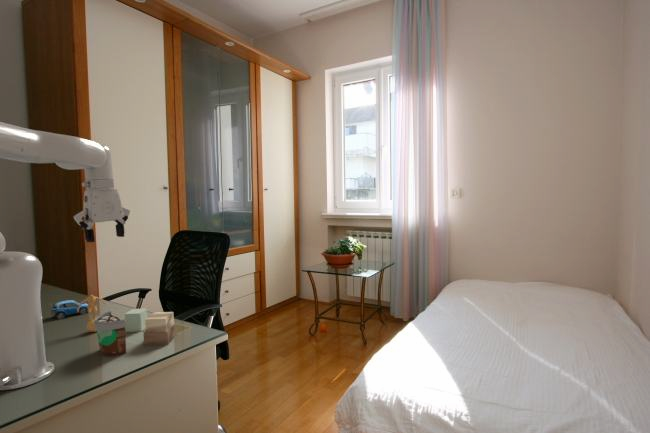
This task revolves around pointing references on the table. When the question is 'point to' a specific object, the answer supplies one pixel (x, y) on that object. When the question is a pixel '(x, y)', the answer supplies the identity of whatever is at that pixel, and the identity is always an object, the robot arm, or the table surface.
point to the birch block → (159, 322)
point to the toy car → (67, 308)
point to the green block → (135, 320)
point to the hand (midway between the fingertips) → (106, 239)
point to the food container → (110, 334)
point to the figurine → (91, 301)
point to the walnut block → (160, 337)
